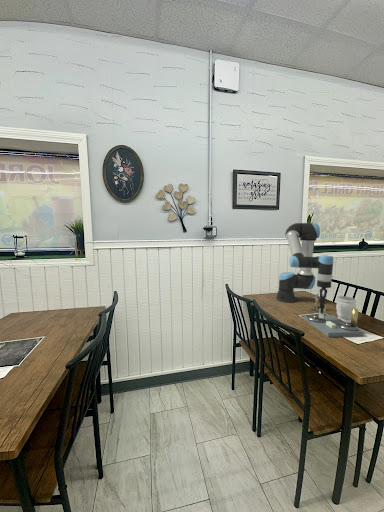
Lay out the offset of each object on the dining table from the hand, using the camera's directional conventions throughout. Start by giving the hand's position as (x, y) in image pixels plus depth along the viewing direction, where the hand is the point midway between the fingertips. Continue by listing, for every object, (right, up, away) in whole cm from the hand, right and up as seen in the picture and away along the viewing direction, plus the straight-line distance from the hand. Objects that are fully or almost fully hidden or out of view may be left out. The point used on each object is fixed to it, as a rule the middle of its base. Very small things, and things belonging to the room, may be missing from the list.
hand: (321, 316), depth 136 cm
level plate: (+4, -5, -3) cm, 7 cm away
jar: (+20, -4, +7) cm, 21 cm away
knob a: (-2, -2, +3) cm, 4 cm away
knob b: (+10, -3, -9) cm, 14 cm away
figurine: (+12, -2, +26) cm, 28 cm away
